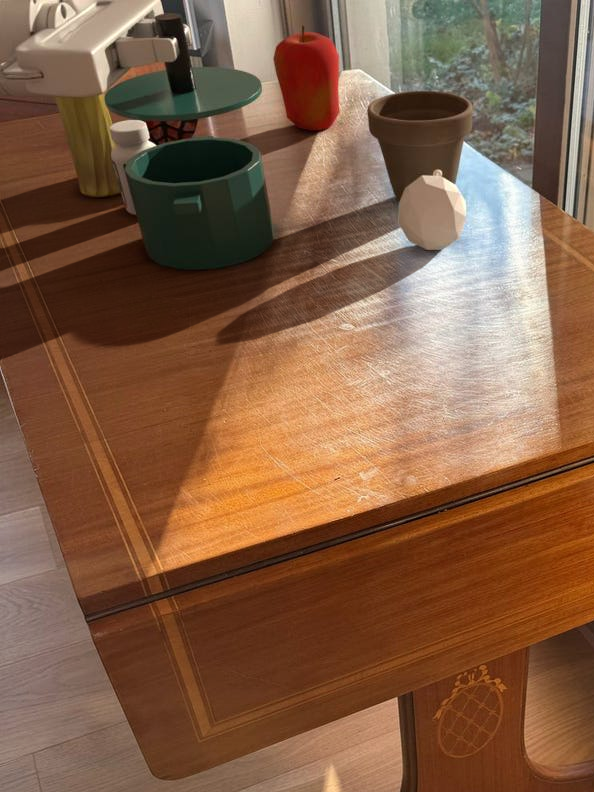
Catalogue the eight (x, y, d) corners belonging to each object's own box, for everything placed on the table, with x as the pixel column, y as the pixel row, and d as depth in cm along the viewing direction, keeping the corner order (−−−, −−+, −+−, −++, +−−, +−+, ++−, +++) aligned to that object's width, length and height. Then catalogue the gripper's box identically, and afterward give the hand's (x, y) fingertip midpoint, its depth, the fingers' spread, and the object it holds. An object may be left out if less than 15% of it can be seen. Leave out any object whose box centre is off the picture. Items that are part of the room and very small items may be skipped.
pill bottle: (182, 204, 114) (162, 122, 108) (149, 220, 111) (127, 136, 105) (149, 195, 116) (128, 114, 110) (116, 211, 113) (93, 128, 107)
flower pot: (460, 175, 119) (457, 83, 111) (486, 211, 111) (485, 114, 104) (367, 187, 117) (357, 94, 109) (386, 224, 109) (378, 127, 102)
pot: (136, 286, 100) (111, 200, 94) (158, 212, 113) (138, 133, 107) (270, 276, 100) (255, 191, 94) (277, 204, 114) (263, 125, 108)
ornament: (384, 246, 105) (395, 168, 103) (448, 263, 107) (460, 186, 106) (403, 235, 98) (415, 151, 97) (471, 253, 101) (483, 171, 100)
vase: (69, 195, 117) (27, 61, 107) (100, 176, 121) (62, 45, 111) (112, 200, 116) (74, 65, 106) (142, 181, 120) (107, 49, 110)
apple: (293, 114, 136) (279, 16, 128) (352, 115, 135) (341, 16, 127) (276, 135, 130) (259, 34, 122) (337, 137, 129) (325, 34, 121)
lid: (95, 133, 88) (70, 43, 83) (119, 83, 98) (98, 0, 93) (259, 123, 89) (244, 33, 84) (266, 75, 99) (253, -8, 94)
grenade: (206, 158, 125) (187, 71, 118) (141, 165, 124) (119, 77, 117) (205, 145, 128) (187, 59, 121) (142, 151, 127) (120, 65, 120)
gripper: (-26, 35, 81) (136, 34, 80) (67, -23, 96) (205, -24, 95) (2, 117, 86) (155, 117, 85) (87, 50, 100) (219, 50, 99)
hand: (182, 42), depth 90 cm, fingers closed on lid, 2 cm apart
